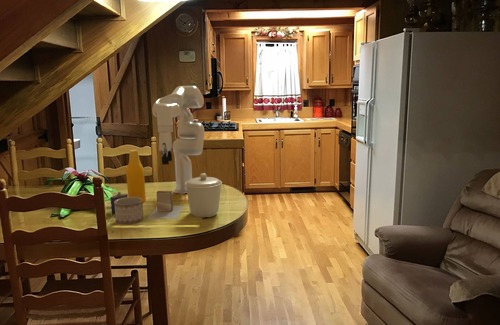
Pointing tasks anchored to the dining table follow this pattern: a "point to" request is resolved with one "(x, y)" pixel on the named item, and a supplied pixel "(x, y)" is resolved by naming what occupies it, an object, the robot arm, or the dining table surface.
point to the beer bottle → (135, 176)
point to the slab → (164, 201)
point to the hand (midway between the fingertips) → (167, 162)
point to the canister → (203, 195)
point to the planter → (129, 210)
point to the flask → (116, 199)
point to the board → (166, 213)
